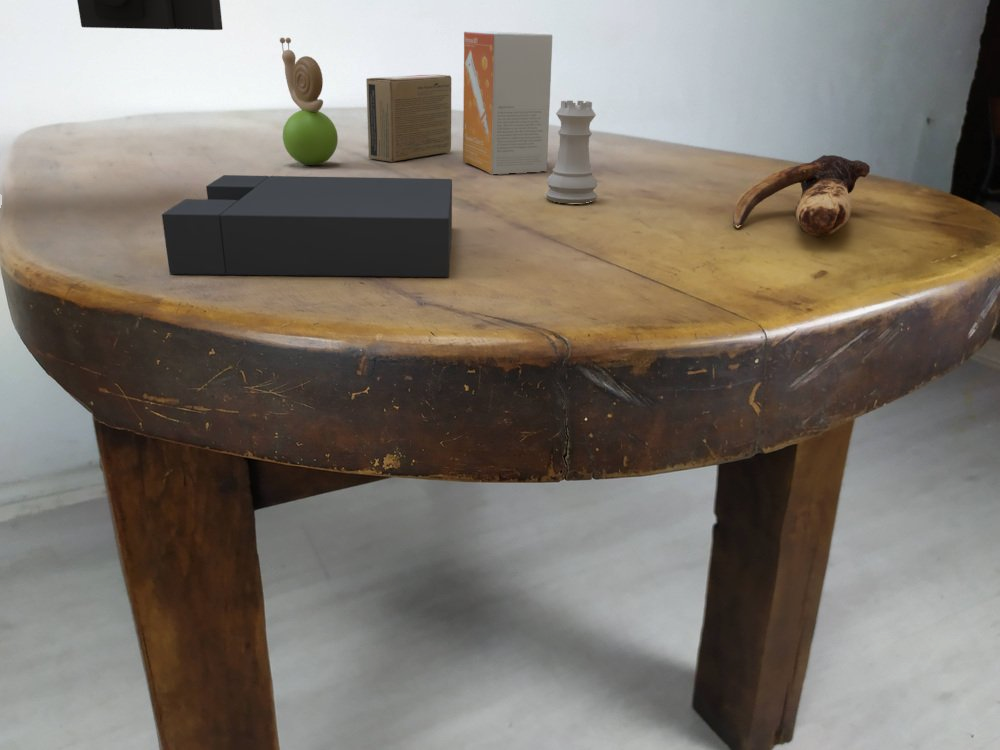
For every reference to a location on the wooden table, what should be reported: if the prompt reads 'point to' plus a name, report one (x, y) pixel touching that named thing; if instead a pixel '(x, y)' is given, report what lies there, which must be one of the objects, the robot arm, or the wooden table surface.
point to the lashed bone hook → (811, 193)
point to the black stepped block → (160, 15)
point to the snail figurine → (307, 112)
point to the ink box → (408, 116)
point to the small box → (506, 101)
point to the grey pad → (313, 227)
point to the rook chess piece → (573, 156)
